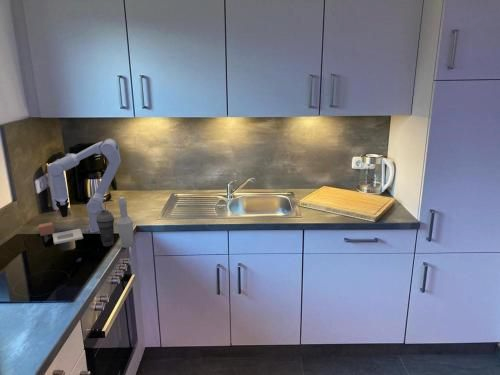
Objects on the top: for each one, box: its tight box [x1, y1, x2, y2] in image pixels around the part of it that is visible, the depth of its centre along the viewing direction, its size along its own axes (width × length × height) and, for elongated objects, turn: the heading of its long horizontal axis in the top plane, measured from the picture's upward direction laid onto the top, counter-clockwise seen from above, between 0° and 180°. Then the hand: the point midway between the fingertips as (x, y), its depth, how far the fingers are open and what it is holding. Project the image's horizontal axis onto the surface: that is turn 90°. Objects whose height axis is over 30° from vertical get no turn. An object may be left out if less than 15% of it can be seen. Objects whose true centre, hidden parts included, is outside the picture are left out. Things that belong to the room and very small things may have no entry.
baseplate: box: [51, 228, 84, 245], centre depth 188 cm, size 12×11×1 cm
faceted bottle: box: [117, 196, 134, 249], centre depth 174 cm, size 6×6×22 cm
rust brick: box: [38, 221, 55, 237], centre depth 193 cm, size 4×6×4 cm, turn 119°
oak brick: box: [55, 206, 73, 222], centre depth 191 cm, size 4×6×4 cm, turn 118°
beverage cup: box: [96, 200, 115, 247], centre depth 176 cm, size 7×7×20 cm
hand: (64, 215), depth 192 cm, fingers closed on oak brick, 4 cm apart
